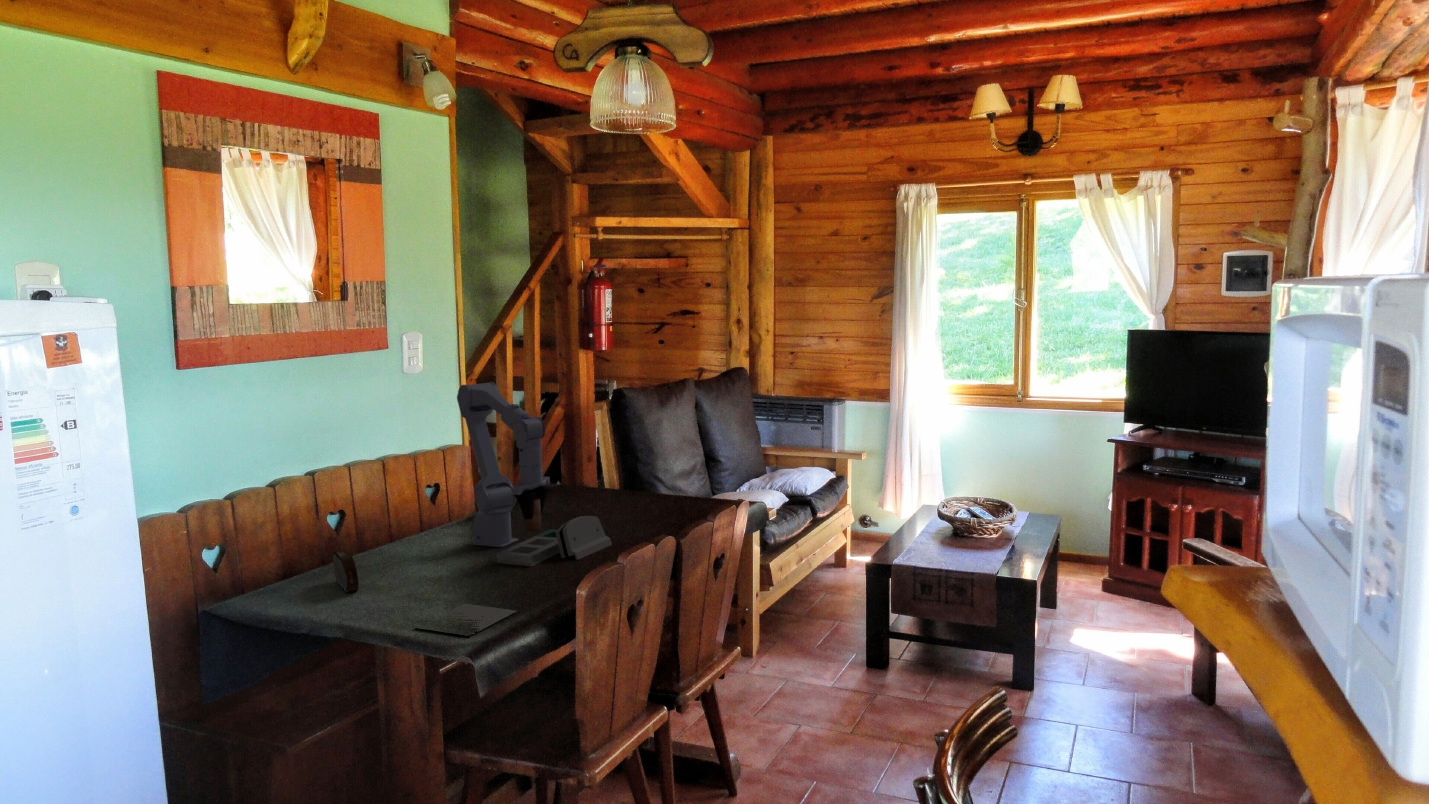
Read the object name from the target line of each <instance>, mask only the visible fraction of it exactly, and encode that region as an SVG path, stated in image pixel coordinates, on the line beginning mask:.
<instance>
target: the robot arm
mask: <svg viewBox="0 0 1429 804" xmlns="http://www.w3.org/2000/svg"><path fill="white" fill-rule="evenodd" d="M500 392H501V391H500V387H499V386H498V385H497V384H496V383H495V382H493V381H489V382H485V383H475V384H461V385H460V387H459V388H458V390H457V394H456V395H457V396H456V400H457V405H458V408H459V411H460V414H461V417H462V418H463V419H464V421H465V423H466V427H467V431H468V433H469V438H470V441H471V446H472V450H473V453H474V456H475V461H476V464H477V467H478V471H479V474H480V480H479V481H478V482H477V483H476V485H475V486H474V487H473V488H474V494H475V500H474V501H475V504H476V507H477V508H478V510H479V511H477V512H476V514H475V515H474V518H473V528H474V529H473V530H474V531H473V532H474V533H473V534H474V542H472V544H473V546H484V547H493V548H494V547H496V548H505V547H507V546H509V545H511V544H513V543H515V542H517V541H519V538H515V537H513V536H512V519H511V511H513V509H514V508H513V507H514V506H515V505H516V503H517V502H518V504H519V507H520V509H521V513H522V516H523V519H524V520H525V519H532V518H533V505H534V500H535V498H540V507H541V516H542V515H543V510H544V506H545V502H546V498H547V496H548V494H549V492H550V486H546V485H550V482H551V480H550V479H551V478H550V476H543V455H542V453H543V452H542V439H543V438H545V434H546V425H545V422H544V421H543V419H542V418H541V417H540V416H531V415H530V414H529V413H527V412H526V411H525V410H524V409H522V408H521V407H520V404H518V403H511V404H510V403H509V402H508V401H507V400H506V399H505V398H504V396H502V395H501V393H500ZM493 411H495V412H496V413H498V414H499V415H500V420H501V422H503V424H504V425H505V426H507V427H508V428H509V429H510V430H511V431H513V432H512V433H513V436H514V439H515V446H516V448H517V449H518V461H519V482H518V483H517V484H516V485H514V486H513V484H512V482H511V478H509V477H507V476H505V475H503V474H502V473H501V471H500V468H499V467H500V466H499V464H498V461H497V457H496V456H497V455H496V453H495V449H494V446H493V442H492V439H491V436H490V435H491V434H490V432H489V428H488V424H487V420H486V419H487V417H488V416H489V415H491V414H492V413H493Z"/></svg>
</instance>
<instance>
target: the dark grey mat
mask: <svg viewBox="0 0 1429 804" xmlns="http://www.w3.org/2000/svg"><path fill="white" fill-rule="evenodd" d="M450 610H451V611H450ZM450 610H448V611H446V612H445V613H449V614H447V615H455V616H456V615H457V616H465V617H459V618H460V619H461V618H462V619H467V620H468V619H469V620H470V619H471V620H478V621H467V622H477V625H476V623H475V625H474V623H473V625H474V626H479V627H471V628H478V629H480V630H477V633H479V632H480V631H482V630H485V629H486V628H487V627H488V628H489V626H491V625H494V624H495V623H498V622H500V621H501V620H502V619H505V618H507V617H509V616H511V615H513V614H515V613H517V610H516V609H508V608H507V609H506V608H499V607H493V606H492V607H491V606H485V605H478V604H470V603H463V604H461V605H458V606H457V607H455V608H452V609H450ZM452 610H453V611H452ZM452 612H454V613H455V612H456V613H462V614H453V613H452ZM463 613H464V614H463ZM445 615H446V614H445ZM466 616H467V617H466ZM482 616H483V617H482ZM445 618H446V617H445ZM448 618H449V617H448ZM450 618H457V617H450ZM459 618H458V619H459ZM479 620H480V621H479ZM481 620H482V621H481ZM462 622H463V621H462ZM464 622H465V621H464ZM479 622H480V623H479ZM473 625H472V626H473ZM470 626H471V625H470ZM478 631H479V632H478ZM470 634H471V633H470ZM472 634H473V635H474V634H476V633H472Z"/></svg>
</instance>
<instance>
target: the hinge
mask: <svg viewBox="0 0 1429 804" xmlns="http://www.w3.org/2000/svg"><path fill="white" fill-rule="evenodd" d="M556 530H557V532H556V537H557V541H558V545H559V549H560V552H559V553H560V557H561V559H565V558H567V557H571V556H574V557H575V560H580V559H582V558H585V557H587V556H589V555H592V554H595V553H596V552H599V551H602V550H603V549H605V548H608V547H610V546H612V545H613V543H612V541H611V540H612V539H611V538H610V537H609V536H608V535H606V533H605V530H604V528H603V526H602V523H601V520H600V519H599V517H598V516H594V515H584V516H582V515H581V516H577V517H575V518H572V519H569V520H568V521H566V522H565V523H564V524H562V525H561V526H560V527H559V528H558V529H556Z"/></svg>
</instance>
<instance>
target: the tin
mask: <svg viewBox="0 0 1429 804" xmlns="http://www.w3.org/2000/svg"><path fill="white" fill-rule="evenodd" d="M332 560H333V561H332V562H333V566H334V576H335V579H336V582H337V581H338V582H339V583H340V584H341V585H342V587H343V588H344V589H345V590H346V591H352V592H354V590H357V591H358V590H359V576H358V570H357V566H356V562H355V560H354V558H353V556H352V555H351V553H349V552H348V550H347V549H345V548H342V549H339V550H338V549H337V550H334V551H333V552H332ZM338 582H337V583H338ZM342 587H341V588H342Z"/></svg>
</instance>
